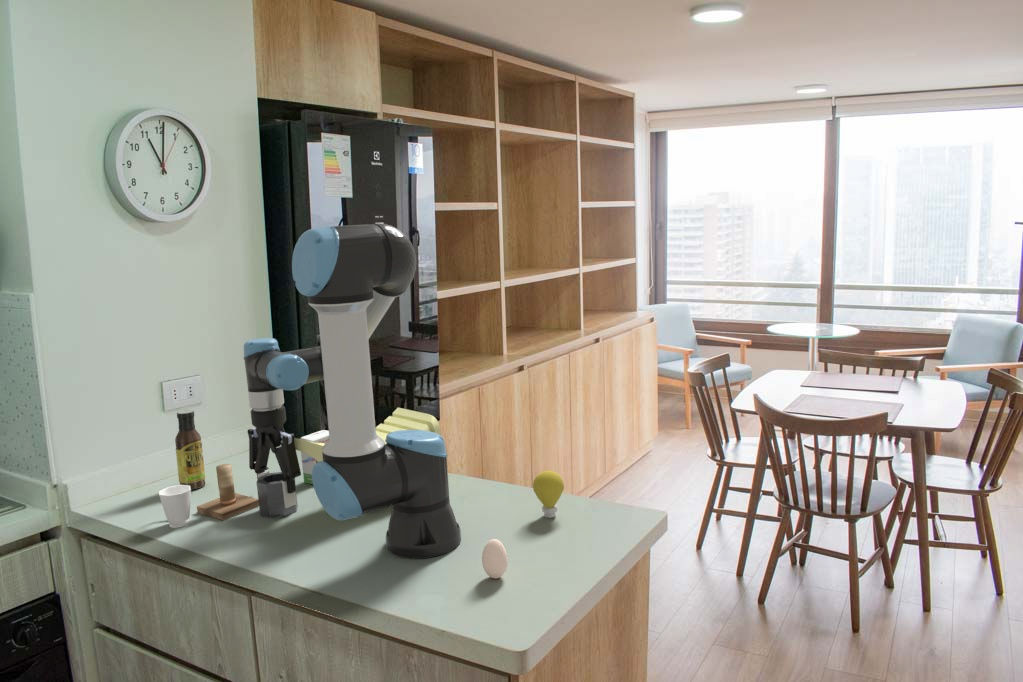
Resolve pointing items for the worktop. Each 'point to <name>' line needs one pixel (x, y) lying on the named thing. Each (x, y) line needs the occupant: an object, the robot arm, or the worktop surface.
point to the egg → (494, 559)
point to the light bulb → (548, 491)
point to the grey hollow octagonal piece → (273, 496)
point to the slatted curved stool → (382, 429)
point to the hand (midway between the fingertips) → (278, 502)
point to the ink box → (307, 460)
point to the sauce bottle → (189, 452)
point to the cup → (176, 504)
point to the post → (227, 497)
